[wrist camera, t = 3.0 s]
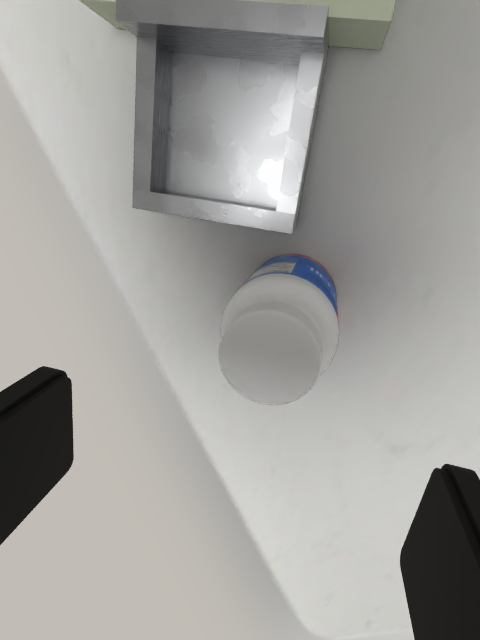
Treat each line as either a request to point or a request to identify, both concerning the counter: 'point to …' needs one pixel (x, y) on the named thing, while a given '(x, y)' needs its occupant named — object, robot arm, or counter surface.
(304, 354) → the pill bottle
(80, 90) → the counter surface
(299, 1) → the green block with knobs
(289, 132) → the gray square tray
